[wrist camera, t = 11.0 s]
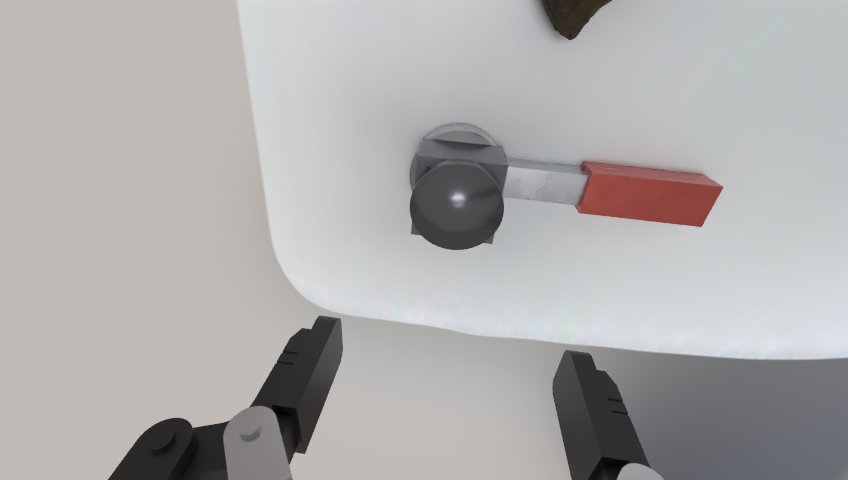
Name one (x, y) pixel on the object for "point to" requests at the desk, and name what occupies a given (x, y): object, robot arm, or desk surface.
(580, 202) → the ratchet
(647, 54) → the desk surface
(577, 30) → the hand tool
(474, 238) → the block with domed cap
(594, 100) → the desk surface
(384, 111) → the desk surface
